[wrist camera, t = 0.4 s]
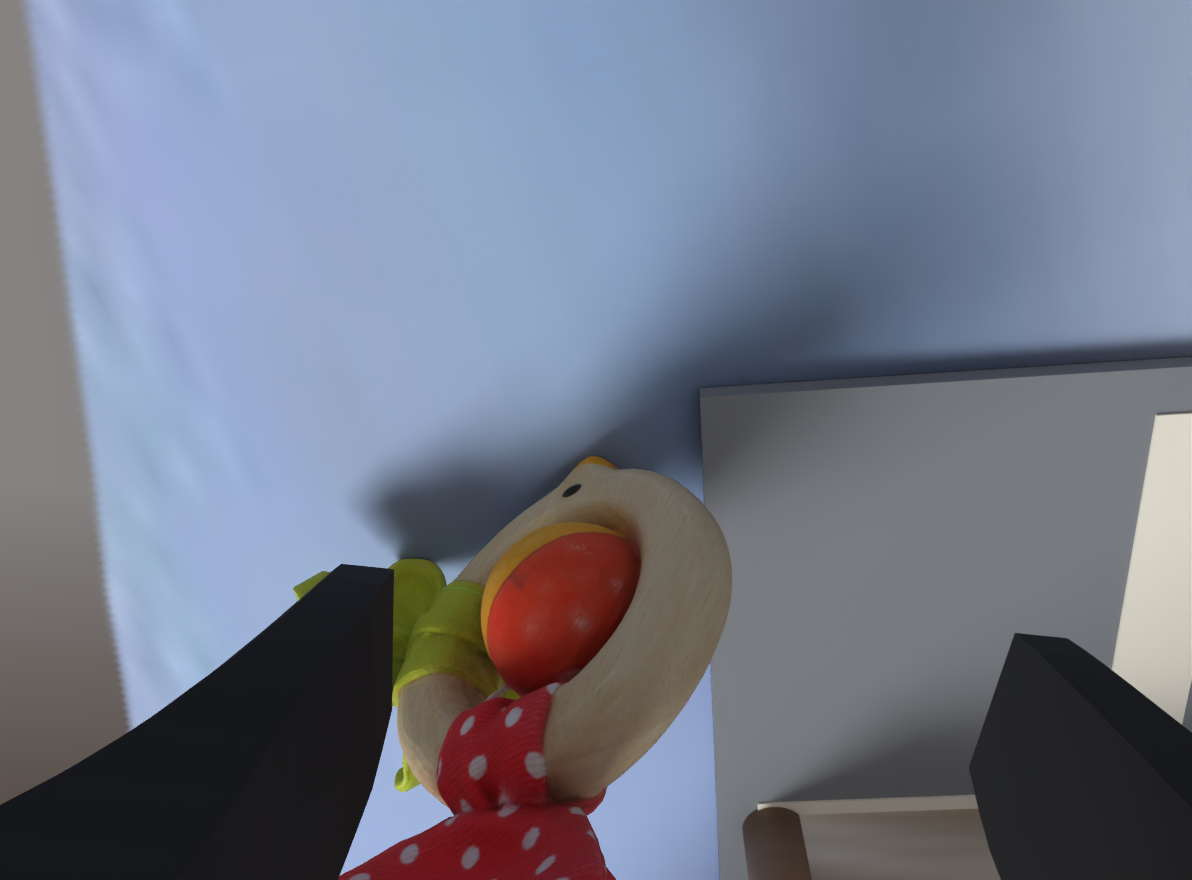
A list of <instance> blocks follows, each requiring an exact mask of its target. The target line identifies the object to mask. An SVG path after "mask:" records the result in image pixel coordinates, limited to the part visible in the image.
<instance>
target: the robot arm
mask: <svg viewBox="0 0 1192 880" xmlns="http://www.w3.org/2000/svg"><path fill="white" fill-rule="evenodd" d="M393 608H394V569H386V568H376V567H366V566H356V565H347V564H341V565H339V566H338V567H337V568H335V569H334V570H333V571H332V572H330V573H329V574H328V575H327V576H326V577H325V578H323V579H322V580H321V581H320V582H319V583H318V584H316V585H315V586H314V587H313V588H312V589H311V590H310V591H309V592H307V593H306V594H305V595H304V596H303V597H302V598H301V599H300V600H298V601H297V602H296V603H295V604H294V605H293V606H292V607H290V608H289V609H288V610H287V611H286V612H285V613H284V614H282V615H281V616H280V617H279V618H278V619H277V620H275V621H274V622H273V623H272V624H271V625H270V626H268V627H267V628H266V629H265V630H264V631H262V632H261V633H260V634H259V635H258V636H256V637H255V638H254V639H253V640H252V641H250V642H249V643H248V644H247V645H245V646H244V647H243V648H242V649H241V650H239V651H238V652H237V653H236V654H234V655H233V656H232V657H231V658H230V659H228V660H227V661H226V662H225V663H223V664H222V665H221V666H220V667H218V668H217V669H216V670H215V671H213V672H212V673H211V674H209V675H208V676H207V677H205V678H204V679H203V680H201V681H200V682H198V683H197V684H196V685H194V686H193V687H192V688H190V689H189V690H188V691H186V692H185V693H184V694H182V695H181V696H179V697H178V698H177V699H175V700H174V701H173V702H171V703H170V704H169V705H167V706H166V707H165V708H163V709H162V710H160V711H159V712H158V713H156V714H155V715H153V716H152V717H151V718H149V719H148V720H146V721H145V722H143V723H142V724H140V725H139V726H137V727H136V728H134V729H133V730H131V731H129V732H128V733H126V734H125V735H123V736H122V737H120V738H119V739H117V740H115V741H114V742H112V743H110V744H109V745H107V746H105V747H104V748H103V749H100V750H99V751H97V752H96V753H94V754H92V755H91V756H89V757H87V758H86V759H84V760H82V761H81V762H79V763H78V764H76V765H74V766H72V767H71V768H69V769H67V770H65V771H64V772H62V773H60V774H58V775H57V776H55V777H53V778H51V779H49V780H47V781H45V782H43V783H41V784H39V785H37V786H36V787H34V788H32V789H30V790H28V791H26V792H24V793H22V794H20V795H18V796H17V797H15V798H13V799H11V800H9V801H7V802H5V803H3V804H1V805H0V880H338V878H339V875H340V873H341V870H342V868H343V865H344V862H345V860H346V857H347V855H348V852H349V849H350V847H351V844H352V841H353V839H354V836H355V833H356V831H357V828H358V826H359V823H360V820H361V818H362V815H363V812H364V810H365V807H366V804H367V802H368V799H369V796H370V793H371V791H372V788H373V784H374V780H375V776H376V772H377V768H378V765H379V761H380V757H381V753H382V749H383V745H384V740H385V736H386V732H387V728H388V724H389V720H390V716H391V711H392V673H393ZM969 771H970V775H971V780H972V784H973V788H974V792H975V797H976V801H977V805H978V809H979V814H980V817H981V821H982V825H983V828H984V832H985V836H986V839H987V843H988V847H989V850H990V853H991V855H992V858H993V861H994V863H995V866H996V869H997V871H998V874H999V876H1000V879H1001V880H1192V732H1190V731H1189V730H1188V729H1187V728H1185V727H1184V726H1183V725H1182V724H1180V723H1179V722H1178V721H1176V720H1175V719H1174V718H1173V717H1171V716H1170V715H1169V714H1167V713H1166V712H1165V711H1164V710H1162V709H1161V708H1160V707H1159V706H1157V705H1156V704H1155V703H1154V702H1152V701H1151V700H1150V699H1148V698H1147V697H1146V696H1145V695H1143V694H1142V693H1141V692H1140V691H1138V690H1137V689H1136V688H1134V687H1133V686H1132V685H1131V684H1129V683H1128V682H1127V681H1126V680H1124V679H1123V678H1122V677H1120V676H1119V675H1118V674H1116V673H1115V672H1114V671H1112V670H1111V669H1110V668H1109V667H1107V666H1106V665H1105V664H1103V663H1102V662H1101V661H1099V660H1098V659H1097V658H1095V657H1094V656H1093V655H1091V654H1090V653H1088V652H1087V651H1086V650H1084V649H1083V648H1081V647H1080V646H1078V645H1077V644H1075V643H1074V642H1072V641H1071V640H1069V639H1068V638H1061V637H1051V636H1041V635H1031V634H1022V633H1015V634H1014V636H1013V639H1012V642H1011V645H1010V648H1009V651H1008V654H1007V657H1006V660H1005V663H1004V666H1003V669H1002V672H1001V674H1000V677H999V680H998V683H997V686H996V689H995V692H994V695H993V698H992V701H991V704H990V707H989V709H988V712H987V715H986V718H985V721H984V724H983V727H982V730H981V733H980V736H979V739H978V742H977V745H976V747H975V750H974V753H973V756H972V759H971V762H970V765H969Z"/></svg>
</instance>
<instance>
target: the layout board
mask: <svg viewBox="0 0 1192 880" xmlns="http://www.w3.org/2000/svg"><path fill="white" fill-rule="evenodd" d="M699 396H700V420H701V444H702V468H703V492H704V505H705V506H706V508H707V509H708V510H709V511H710V512H711V514H712V515H713V516H714V518H715V519H716V521H717V523H718V525H719V526H720V528H721V530H722V532H723V534H724V537H725V539H726V542H727V545H728V549H729V553H730V559H731V564H732V594H731V602H730V608H729V612H728V616H727V620H726V623H725V627H724V630H723V632H722V635H721V637H720V640H719V643H718V645H717V648H716V650H715V652H714V655H713V657H712V659H711V683H712V707H713V731H714V755H715V779H716V803H717V827H718V851H719V875H720V880H748V872H747V864H746V856H745V848H744V840H743V832H742V826H743V823H744V821H745V819H746V818H747V816H748V815H749V814H750V813H752V812H753V811H755V810H757V809H758V810H761V809H764V808H769V807H783V808H787V809H790V810H792V811H794V812H796V813H797V814H799V815H811V814H839V813H867V812H895V811H923V810H951V809H978V805H977V801H976V797H975V792H974V788H973V784H972V780H971V775H970V771H969V765H970V762H971V759H972V756H973V753H974V750H975V747H976V745H977V742H978V739H979V736H980V733H981V730H982V727H983V724H984V721H985V718H986V715H987V712H988V709H989V707H990V704H991V701H992V698H993V695H994V692H995V689H996V686H997V683H998V680H999V677H1000V674H1001V672H1002V669H1003V666H1004V663H1005V660H1006V657H1007V654H1008V651H1009V648H1010V645H1011V642H1012V639H1013V636H1014V634H1015V633H1022V634H1031V635H1041V636H1051V637H1061V638H1068V639H1069V640H1071V641H1072V642H1074V643H1075V644H1077V645H1078V646H1080V647H1081V648H1083V649H1084V650H1086V651H1087V652H1088V653H1090V654H1091V655H1093V656H1094V657H1095V658H1097V659H1098V660H1099V661H1101V662H1102V663H1103V664H1105V665H1106V666H1107V667H1109V668H1110V669H1111V670H1112V671H1114V672H1115V673H1116V674H1118V675H1119V676H1120V677H1122V678H1123V679H1124V680H1126V681H1127V682H1128V683H1129V684H1131V685H1132V686H1133V687H1134V688H1136V689H1137V690H1138V691H1140V692H1141V693H1142V694H1143V695H1145V696H1146V697H1147V698H1148V699H1150V700H1151V701H1152V702H1154V703H1155V704H1156V705H1157V706H1159V707H1160V708H1161V709H1162V710H1164V711H1165V712H1166V713H1167V714H1169V715H1170V716H1171V717H1173V718H1174V719H1175V720H1176V721H1178V722H1179V723H1180V724H1182V725H1183V726H1184V727H1185V728H1187V729H1188V730H1189V731H1190V732H1192V357H1178V358H1163V359H1147V360H1131V361H1115V362H1100V363H1084V364H1068V365H1053V366H1037V367H1021V368H1006V369H990V370H974V371H958V372H943V373H927V374H911V375H896V376H880V377H864V378H849V379H833V380H817V381H801V382H786V383H770V384H754V385H739V386H723V387H707V388H699Z"/></svg>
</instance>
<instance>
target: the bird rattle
mask: <svg viewBox="0 0 1192 880" xmlns="http://www.w3.org/2000/svg"><path fill="white" fill-rule="evenodd" d="M388 569H394V608H393V673H392V706H397V708H398V715H397V726H398V736H399V741H400V744H401V747H402V750H403V767H402V768H401V769H399V770H398V772H397V774H396V777H395V788H396V789H397V790H399V791H401V792H404V791H408V790H410V789H412V788H414V787H415V786H417V785H419V784H422V786H423V787H424V788H425V789H426V790H427V791H429V792H430V793H431V794H432V795H433V796H434V797H435V798H437V799H438V800H439V801H440V802H442V803H443V804H444V805H446V806H447V807H449V809H450V810H451V812H452V813H453V814H454V816H453V817H449V818H447V819H445V820H443V821H442V822H440V823H438V824H437V825H435V826H433V827H431V828H430V829H428V830H426V831H424V832H422V833H420V834H418V835H415V836H413V837H411V838H409V839H406V840H403V841H401V842H399V843H397V844H395V845H394V846H392V847H390V848H388V849H387V850H385V851H384V852H382V853H380V854H379V855H377V856H375V857H373V858H372V859H370V860H368V861H367V862H365V863H363V864H362V865H360V866H358V867H356V868H354V869H352V870H350V871H348V872H346V873H344V874H342V875H341V876H339V878H338V880H616V879H615V877H614V876H613V875H612V874H611V872H610V871H609V870H608V868H607V867H606V865H605V860H604V856H603V854H602V852H601V849H600V846H599V842H598V839H597V837H596V835H595V833H594V831H593V828H592V826H591V824H590V822H589V820H588V818H587V816H586V815H589V814H590V813H592V812H593V811H594V810H595V809H596V808H597V807H598V805H599V804H600V803H601V802H602V801H603V799H604V796H605V793H606V789H607V786H608V785H610V784H611V783H612V782H614V781H615V780H616V779H617V778H619V777H620V776H621V775H622V774H623V773H625V772H626V771H627V770H628V769H629V768H630V767H631V766H633V765H634V764H635V763H636V762H637V761H638V760H639V759H640V758H641V757H642V756H643V755H644V754H645V753H646V752H647V751H648V750H649V749H650V748H651V747H652V746H653V745H654V744H655V743H656V742H657V741H658V739H659V738H660V737H661V736H662V735H663V733H664V732H665V731H666V730H667V729H668V727H669V726H670V725H671V724H672V722H673V721H674V719H675V718H676V717H677V715H678V714H679V713H680V711H681V710H682V709H683V707H684V706H685V704H686V703H687V701H688V700H689V698H690V697H691V695H692V694H693V692H694V690H695V689H696V687H697V685H698V684H699V682H700V680H701V679H702V677H703V675H704V673H705V671H706V669H707V667H708V665H709V663H710V661H711V659H712V657H713V655H714V652H715V650H716V648H717V645H718V643H719V640H720V637H721V635H722V632H723V630H724V627H725V623H726V620H727V616H728V612H729V608H730V602H731V594H732V564H731V559H730V553H729V549H728V545H727V542H726V539H725V537H724V534H723V532H722V530H721V528H720V526H719V525H718V523H717V521H716V519H715V518H714V516H713V515H712V514H711V512H710V511H709V510H708V509H707V508H706V506H705V505H704V504H703V503H702V502H701V501H700V500H699V499H698V498H697V497H696V496H695V495H693V494H692V493H691V492H690V491H689V490H688V489H686V488H685V487H684V486H682V485H681V484H679V483H678V482H676V481H675V480H673V479H671V478H669V477H667V476H665V475H663V474H660V473H657V472H653V471H649V470H643V469H618V468H617V467H616V466H615V465H613V464H612V463H611V462H609V461H608V460H606V459H603V458H601V457H598V456H589V457H587V458H586V459H584V460H583V461H581V462H580V463H579V464H578V465H577V466H576V467H575V468H574V469H573V470H572V471H571V473H570V474H569V475H568V476H567V477H566V479H565V480H564V481H563V482H562V483H561V484H560V485H559V486H558V487H557V488H555V489H554V490H553V491H552V492H550V493H549V494H547V495H546V496H544V497H543V498H542V499H540V500H539V501H537V502H536V503H535V504H533V505H532V506H530V507H529V508H528V509H526V510H525V511H524V512H522V513H521V514H520V515H518V516H517V517H516V518H515V519H514V520H512V521H511V522H510V523H509V524H508V525H507V526H506V527H504V528H503V529H502V530H501V531H500V532H499V533H498V534H497V535H496V536H495V537H494V538H493V539H492V540H491V541H490V542H489V543H488V544H487V545H486V546H485V547H484V548H483V549H482V550H481V551H480V552H479V553H478V554H477V555H476V556H475V557H474V558H473V559H472V560H471V561H470V563H469V564H468V565H467V566H466V567H465V569H464V570H463V571H462V572H461V573H460V574H459V575H458V577H457V578H456V579H455V580H454V581H453V582H452V583H450V584H449V585H446V580H445V577H444V574H443V572H442V570H441V569H440V568H439V566H438V565H436V564H435V563H433V562H431V561H429V560H425V559H402V560H399V561H397V562H396V563H394V564H393V565H391V566H390V567H389V568H388ZM329 573H330V572H327V571H322V572H320V573H318V574H317V575H315V576H313V577H311V578H310V579H308V580H306V581H304V582H302V583H301V584H299V585H297V586H295V587H294V588H293V590H294V593H295V594H296V596H297V599H298V600H300V599H301V598H302V597H303V596H304V595H305V594H306V593H307V592H309V591H310V590H311V589H312V588H313V587H314V586H315V585H316V584H318V583H319V582H320V581H321V580H322V579H323V578H325V577H326V576H327V575H328V574H329Z"/></svg>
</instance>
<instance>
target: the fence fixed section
mask: <svg viewBox="0 0 1192 880" xmlns="http://www.w3.org/2000/svg"><path fill="white" fill-rule="evenodd" d="M742 832H743V840H744V848H745V856H746V864H747V872H748V880H1001V879H1000V876H999V874H998V871H997V869H996V866H995V863H994V861H993V858H992V855H991V853H990V850H989V847H988V843H987V839H986V836H985V832H984V828H983V825H982V821H981V817H980V814H979V809H951V810H923V811H895V812H867V813H839V814H811V815H799V814H797V813H796V812H794V811H792V810H790V809H787V808H783V807H769V808H764V809H761V810H758V809H757V810H755V811H753V812H752V813H750V814H749V815H748V816H747V818H746V819H745V821H744V823H743V826H742Z"/></svg>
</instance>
